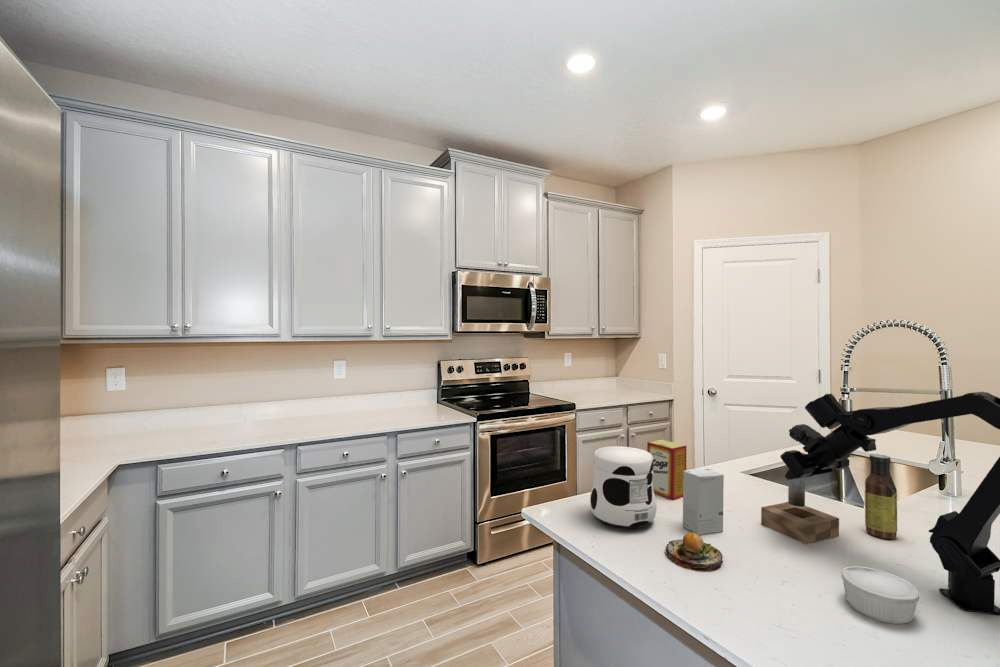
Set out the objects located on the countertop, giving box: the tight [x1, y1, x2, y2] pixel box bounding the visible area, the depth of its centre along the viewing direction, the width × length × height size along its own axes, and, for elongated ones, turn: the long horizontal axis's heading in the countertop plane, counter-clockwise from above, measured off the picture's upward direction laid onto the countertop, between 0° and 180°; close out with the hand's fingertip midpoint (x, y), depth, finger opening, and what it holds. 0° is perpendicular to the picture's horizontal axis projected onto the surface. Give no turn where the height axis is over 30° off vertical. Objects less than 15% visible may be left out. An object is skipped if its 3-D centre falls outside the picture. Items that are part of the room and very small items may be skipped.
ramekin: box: [840, 565, 920, 625], centre depth 84 cm, size 11×11×5 cm
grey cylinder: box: [787, 452, 806, 507], centre depth 116 cm, size 4×4×13 cm
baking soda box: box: [646, 439, 687, 501], centre depth 142 cm, size 10×6×16 cm
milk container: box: [589, 445, 657, 529], centre depth 122 cm, size 17×17×18 cm
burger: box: [665, 531, 724, 572], centre depth 103 cm, size 12×12×8 cm
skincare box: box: [682, 468, 725, 536], centre depth 117 cm, size 8×6×15 cm
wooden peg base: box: [760, 501, 840, 546], centre depth 116 cm, size 12×12×4 cm
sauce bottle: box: [864, 453, 898, 540], centre depth 114 cm, size 7×6×20 cm
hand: (791, 476), depth 117 cm, fingers closed on grey cylinder, 4 cm apart
